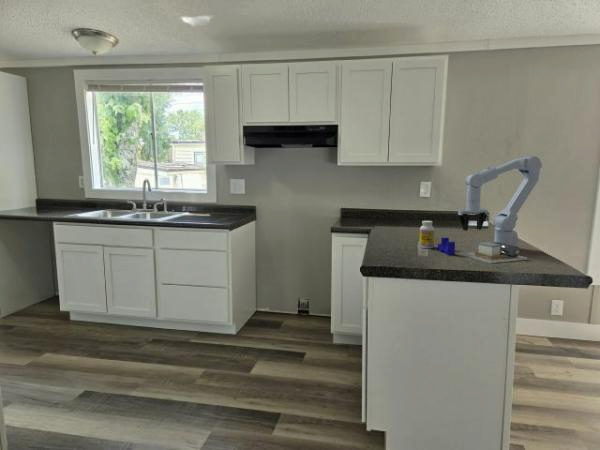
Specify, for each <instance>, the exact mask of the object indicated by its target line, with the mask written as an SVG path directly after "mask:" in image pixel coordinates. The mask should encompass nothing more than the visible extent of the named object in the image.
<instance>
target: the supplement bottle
mask: <svg viewBox="0 0 600 450" xmlns="http://www.w3.org/2000/svg"><path fill="white" fill-rule="evenodd" d="M421 224H422V225H421V226H420V228H419V245H418V246H419V247H420V248H421V249H433V248H434V245H435V244H434V243H435V227H434V226H433V220H422V221H421Z"/></svg>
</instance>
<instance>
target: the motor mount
mask: <svg viewBox="0 0 600 450" xmlns="http://www.w3.org/2000/svg"><path fill="white" fill-rule="evenodd" d="M494 244H499V245H500V255H496V256H490V255H486V254H483V253H479V252H478V251H473V252H472V251H471V252H464V253H463V256H466V257H469V258H472V259H476V260H479V261H480V262H481V261H482V262H485V263H488V264H496V263H497V264H498V263H509V262H517V261H527V260H528V257H526V256H523V255H520V254H521V248H520V247H519V246H518V245H517V246H513V245H508V244H504V243H499V242H495V243H494Z"/></svg>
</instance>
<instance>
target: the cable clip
mask: <svg viewBox="0 0 600 450" xmlns="http://www.w3.org/2000/svg"><path fill="white" fill-rule="evenodd" d="M440 240H441V242H440V243H438V244H437V251H439V253H444V254H445V255H446V256H455V252H456V251H455V248H456V242H455V241H450V238H449V237H441V239H440Z"/></svg>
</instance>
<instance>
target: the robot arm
mask: <svg viewBox="0 0 600 450" xmlns="http://www.w3.org/2000/svg"><path fill="white" fill-rule="evenodd" d="M542 167H543V164H542V162H541V159H540V158H539V157H538V156H535V155H534V156H521V157H519V158H515V159H512V160H510V161H508V162H506V163H504V164H501V165H500V166H497V167H493V166H486V167H485V169H483V170H481V171H478V170H477V171H475V174H473V173H471V174H469V175H467V177H466V178H465V180H464V182H465V186H467V188H466V206H465V207H466V208H465V209H462V210H458V211H457V217H458V219H459V220H460V223H461V227H462V231H466V232H467V231H468V228H469V220H470V218H471V216H470V215H475V219H476V229H477V230H481V231H482V228H483V226H484V222H485V220H486V219H487V218H488V212H489V211H488V209H485V208H484V209H482V208H481V193H482V186H483V185H484V184H486V183H489V182H491V181H493V180H496V179H498V177H499V175H501V174H505V173H506V172H510V171H512V170H518V171H519V172H520V174H521V175H522V178H523V180H522V182H520V184H519V186H518V188H517V189H516V191H515V192H514V193H513V196H512V197H511V199H510V200H509V202H508V203H507V205H506V207H505V208H504V209H502V210H500V211H499V213H497V215H496V216H494V217H493V219H492V225H493V226H494V241H493V242H494V243H495V242H499V243H504V244H508V245H513V246H517V247H518V241H519V240H518V237H519V235H518V232H517V231H516V230H513V229H515V227H516V223H517V221H518V218H519V217H518V213H519V211H520V209H521V208H522V206H523V205H524V204H525V202H526V200H527V199H528V198H529V196H530V194H531V193H532V191H533V190H534V188H535V186H536V184H537V183H538V181H539V178H540V172H541V171H540V170H541V168H542Z"/></svg>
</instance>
